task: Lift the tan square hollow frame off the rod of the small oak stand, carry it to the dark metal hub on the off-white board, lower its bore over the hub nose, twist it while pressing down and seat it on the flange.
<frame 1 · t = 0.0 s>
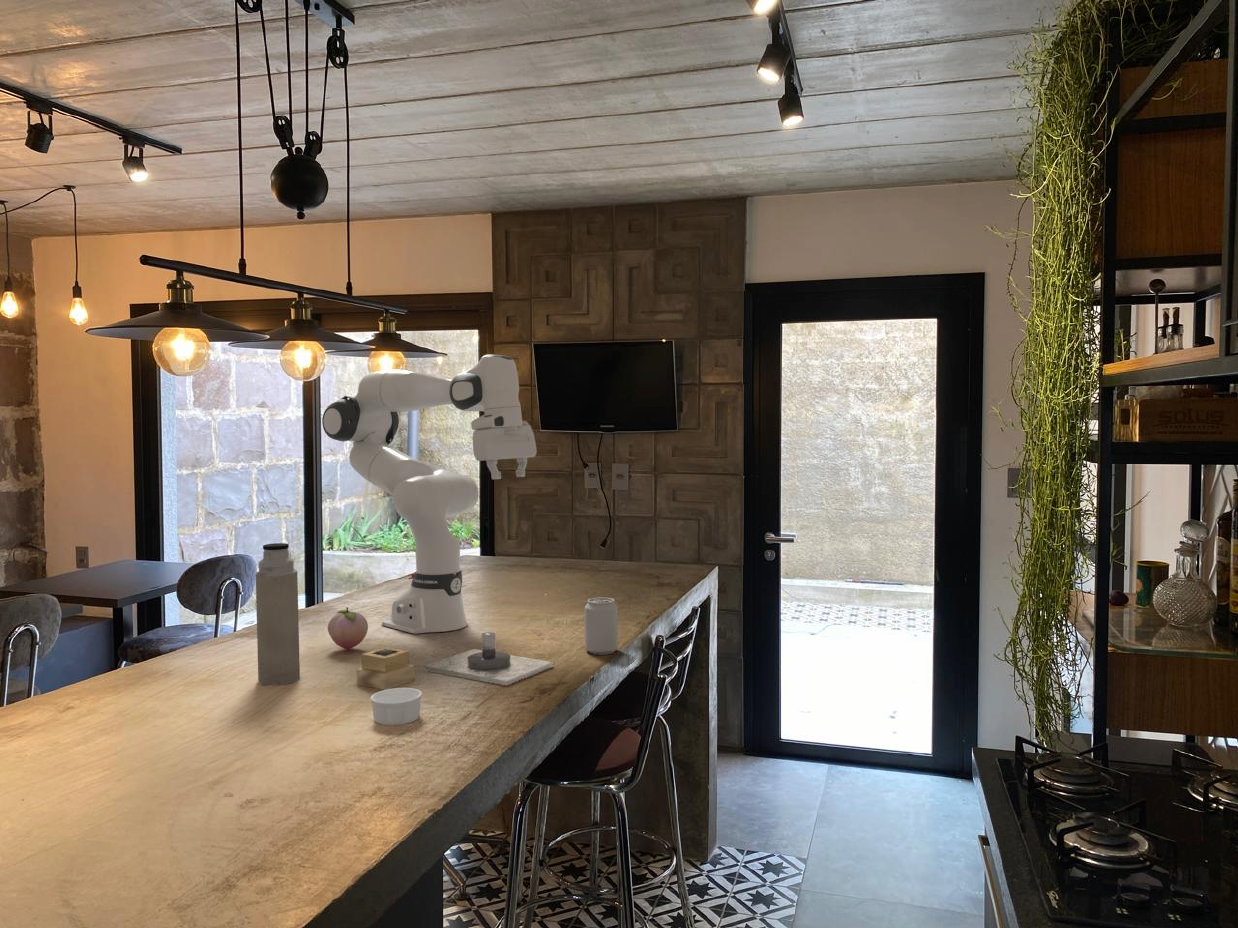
hand: (508, 478, 217), 39 cm above the kitchen island, tool pointing down, fingers open, 8 cm apart
tan square hollow frame: (385, 667, 182), point 3 cm above the kitchen island, touching stand
thermos bottle: (279, 680, 184), on the kitchen island
ramekin: (396, 719, 160), on the kitchen island
can: (601, 652, 205), on the kitchen island
hub: (489, 668, 192), on the kitchen island
stand: (386, 681, 183), on the kitchen island
decorative fruit: (349, 650, 208), on the kitchen island
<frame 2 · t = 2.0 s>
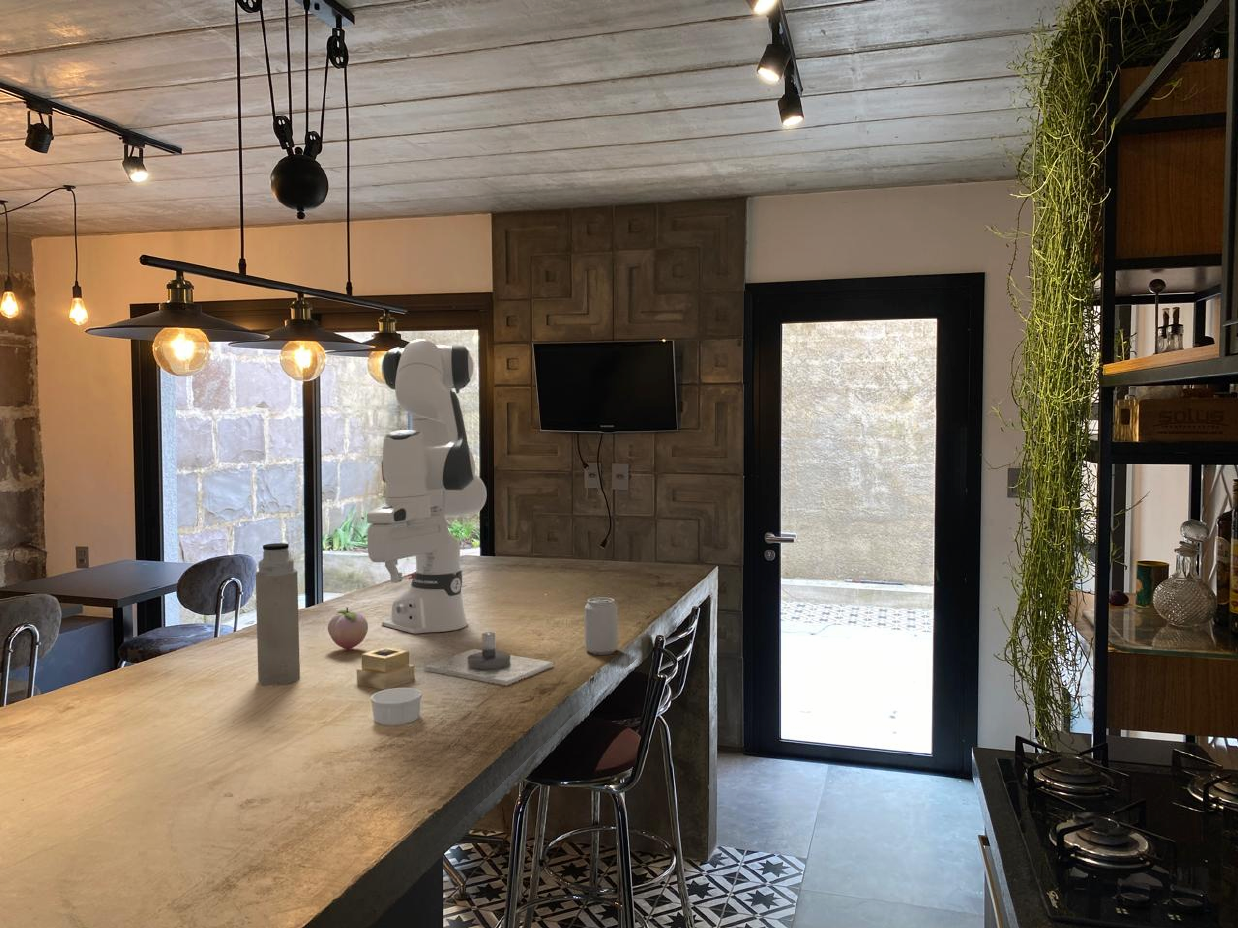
hand: (413, 577, 183), 21 cm above the kitchen island, tool pointing down, fingers open, 8 cm apart
nothing on the kitchen island moved.
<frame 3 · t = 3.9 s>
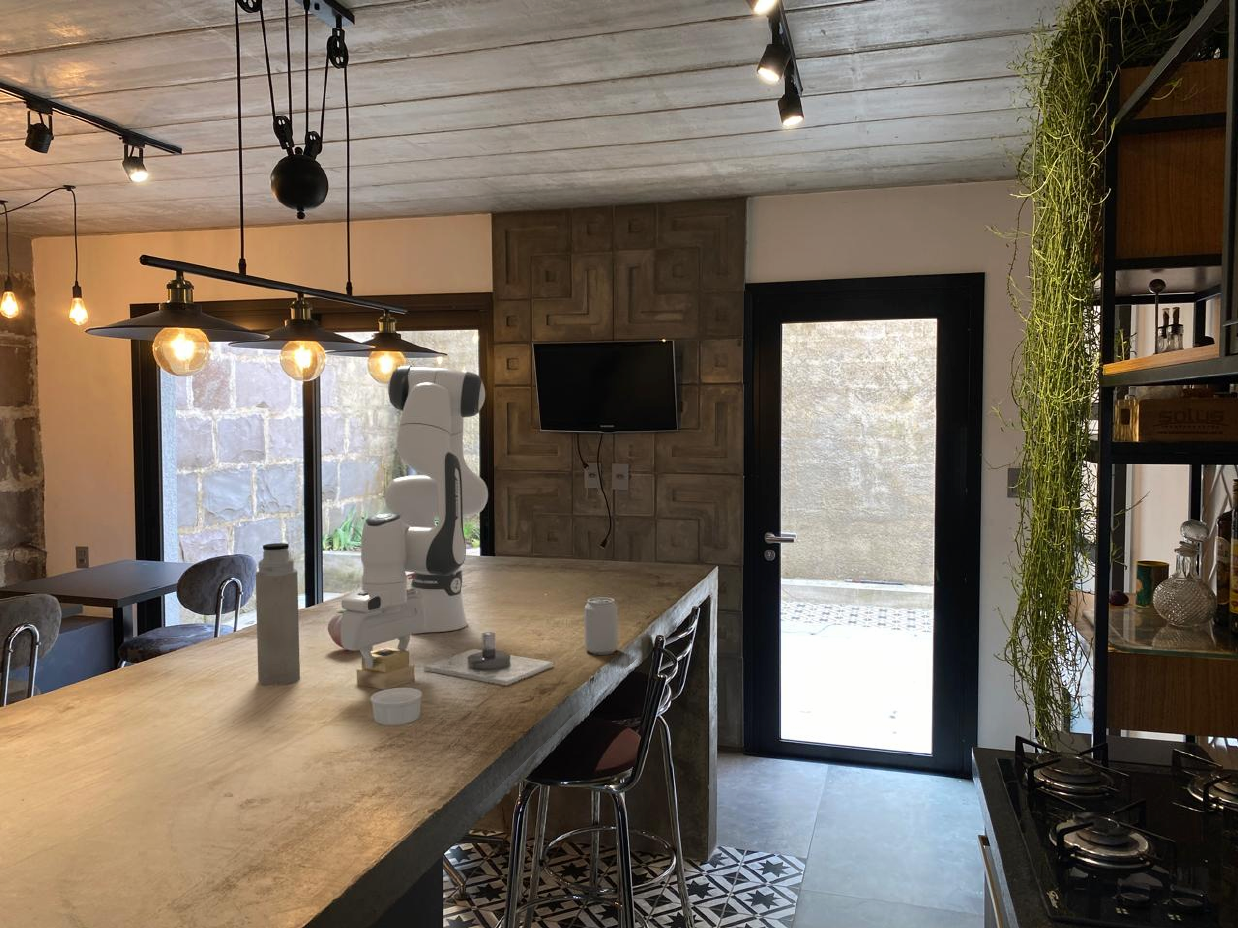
hand: (385, 662, 182), 4 cm above the kitchen island, tool pointing down, fingers closed on tan square hollow frame, 7 cm apart
tan square hollow frame: (385, 667, 182), point 3 cm above the kitchen island, touching gripper, stand
everything else where it was.
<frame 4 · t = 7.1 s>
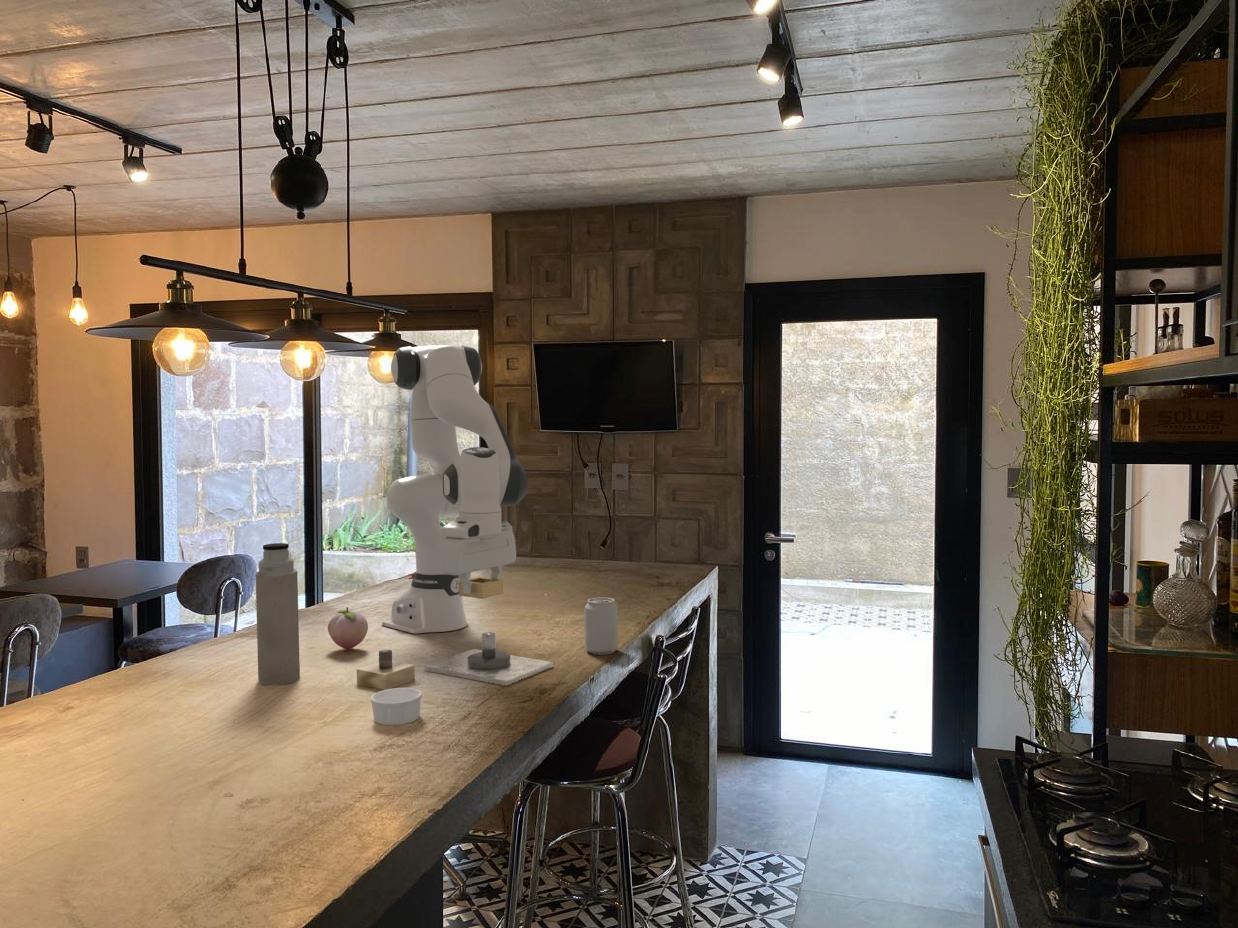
hand: (481, 590, 190), 17 cm above the kitchen island, tool pointing down, fingers closed on tan square hollow frame, 7 cm apart
tan square hollow frame: (481, 594, 190), point 16 cm above the kitchen island, touching gripper
everything else where it was.
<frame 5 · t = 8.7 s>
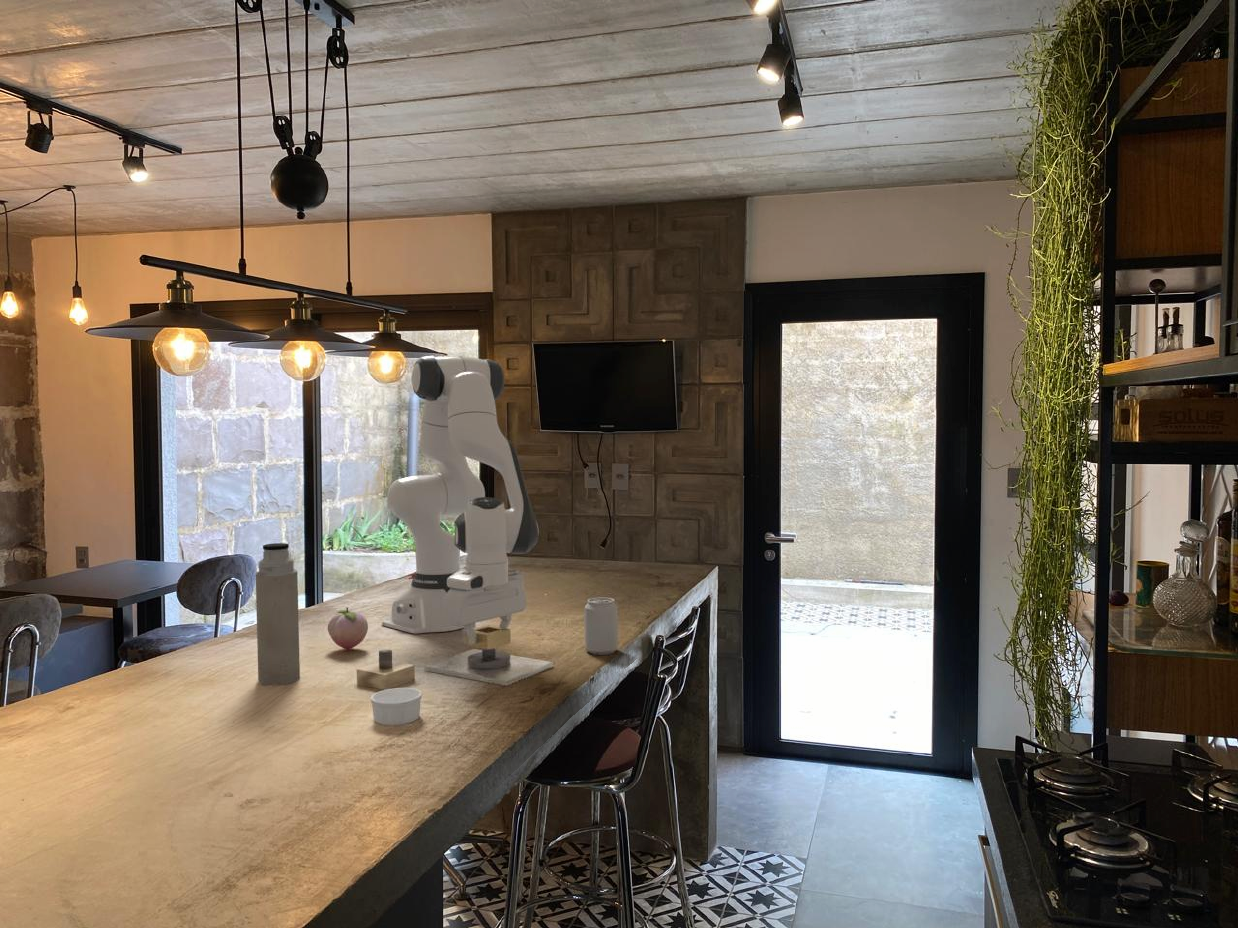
hand: (488, 639, 191), 6 cm above the kitchen island, tool pointing down, fingers closed on tan square hollow frame, 7 cm apart
tan square hollow frame: (488, 643, 191), point 5 cm above the kitchen island, touching gripper
everything else where it was.
when the fingers open (4 cm above the kitchen island, at t = 9.9 s): tan square hollow frame stays where it is, resting on hub.
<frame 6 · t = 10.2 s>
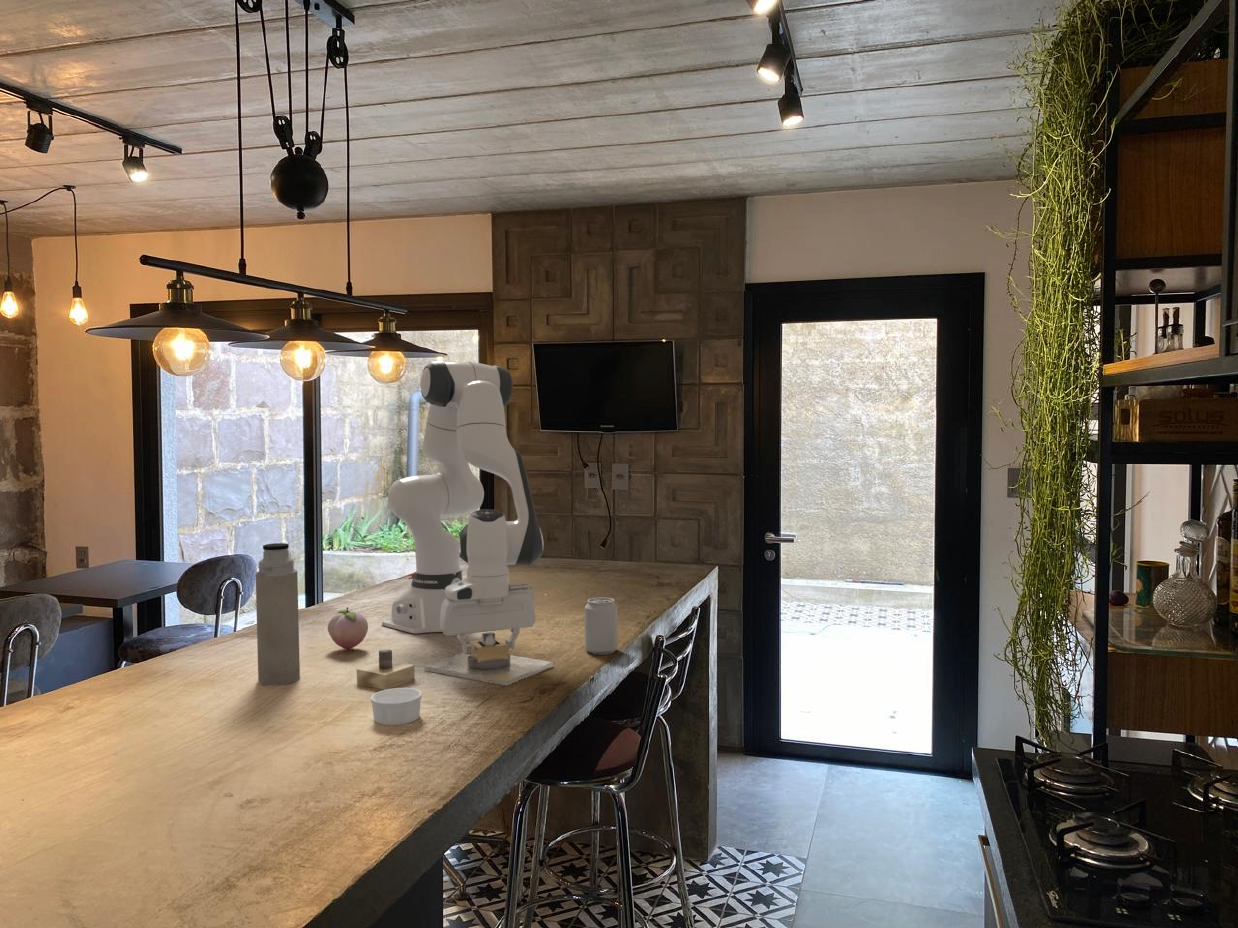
hand: (488, 651, 192), 4 cm above the kitchen island, tool pointing down, fingers open, 8 cm apart
tan square hollow frame: (488, 656, 192), point 2 cm above the kitchen island, touching hub
everything else where it was.
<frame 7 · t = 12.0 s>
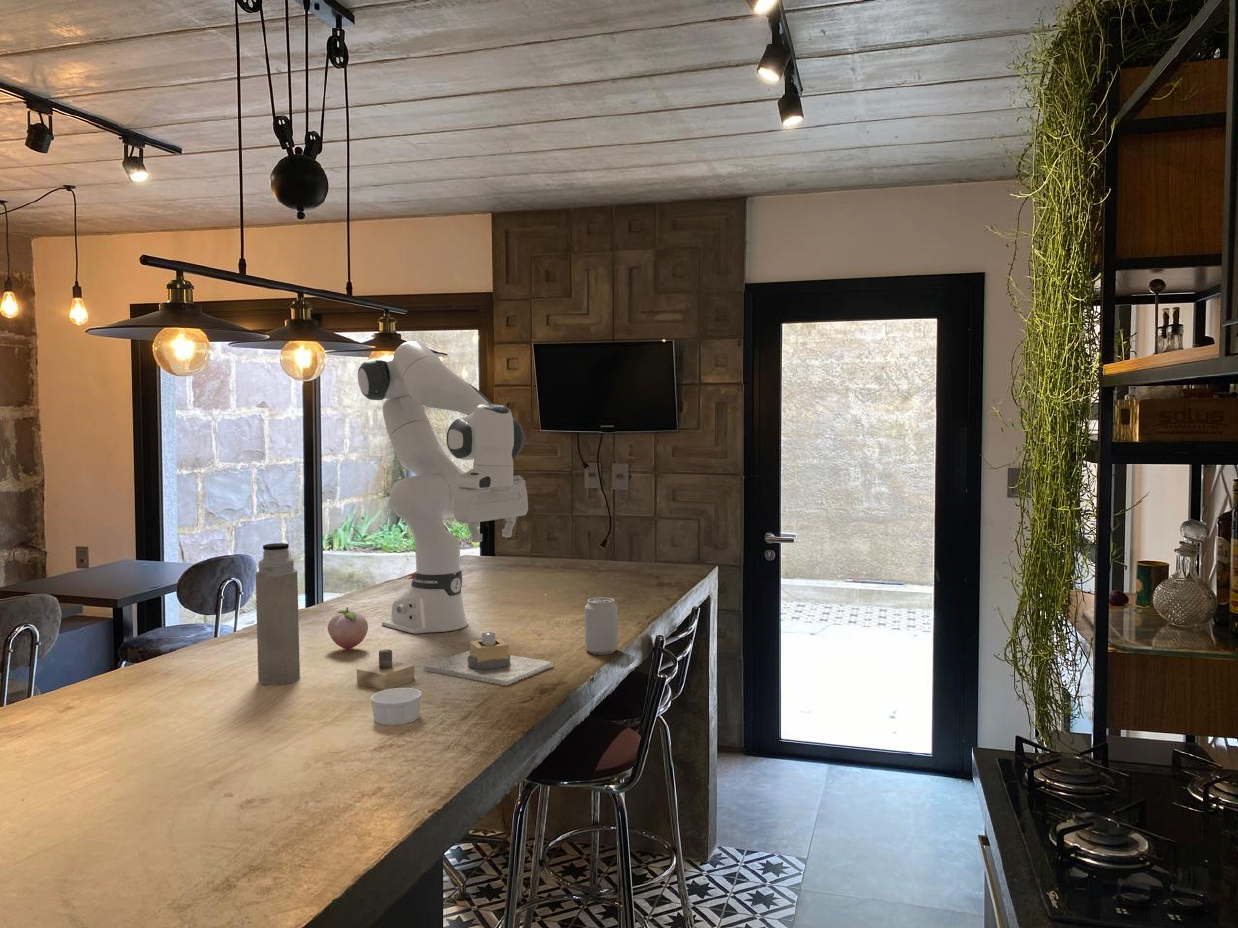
hand: (492, 539, 200), 26 cm above the kitchen island, tool pointing down, fingers open, 8 cm apart
nothing on the kitchen island moved.
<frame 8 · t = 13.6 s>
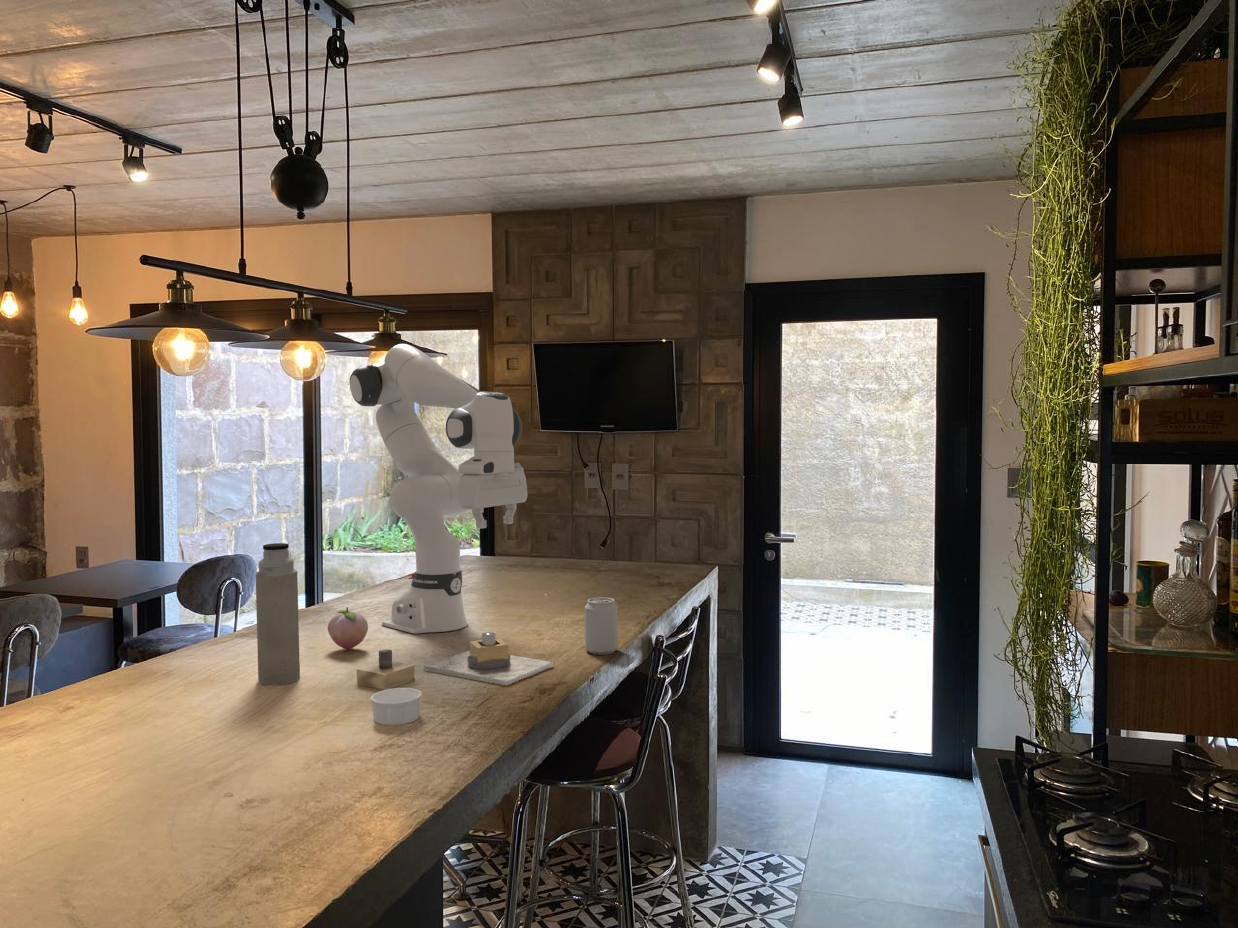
hand: (495, 525, 202), 29 cm above the kitchen island, tool pointing down, fingers open, 8 cm apart
nothing on the kitchen island moved.
at the end: tan square hollow frame 0.1 cm off-centre on the hub, point 2.5 cm above the hub's base; the gripper is holding nothing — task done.
